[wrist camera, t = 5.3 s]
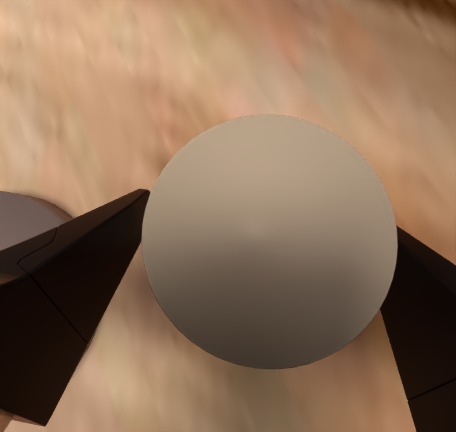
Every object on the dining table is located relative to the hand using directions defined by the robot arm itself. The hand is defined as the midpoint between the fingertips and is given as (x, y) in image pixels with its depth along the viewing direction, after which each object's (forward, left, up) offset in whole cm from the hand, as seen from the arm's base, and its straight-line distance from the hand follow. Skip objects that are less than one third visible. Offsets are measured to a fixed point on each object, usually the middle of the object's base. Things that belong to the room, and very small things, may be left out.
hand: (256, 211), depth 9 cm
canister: (0, +1, -7) cm, 7 cm away
